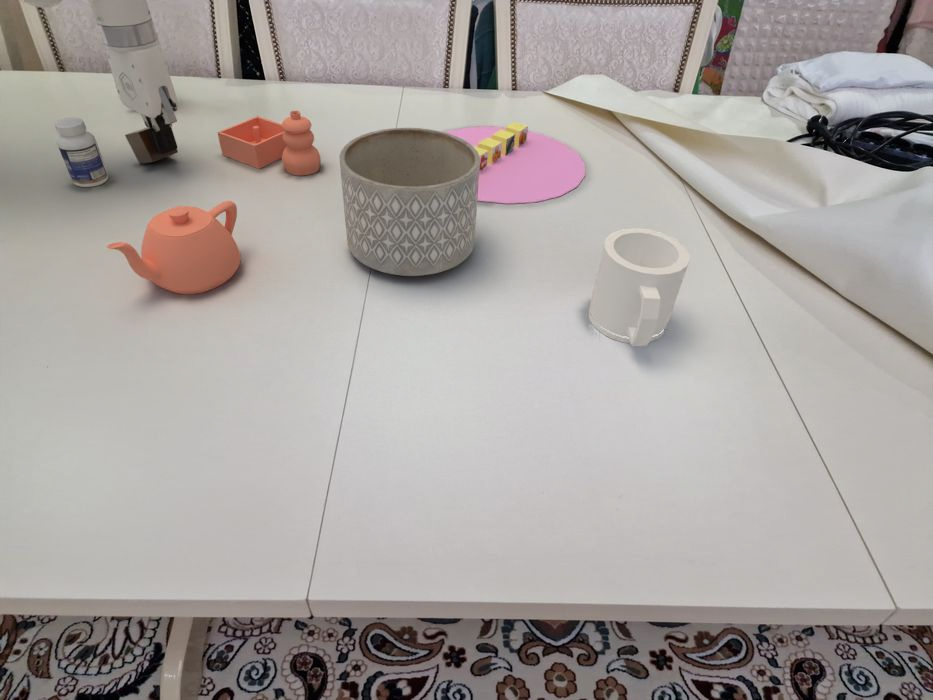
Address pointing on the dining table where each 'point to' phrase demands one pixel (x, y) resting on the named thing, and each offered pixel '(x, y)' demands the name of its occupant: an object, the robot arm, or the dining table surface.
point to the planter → (410, 200)
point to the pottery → (273, 143)
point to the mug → (637, 284)
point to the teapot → (187, 249)
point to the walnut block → (145, 147)
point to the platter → (521, 164)
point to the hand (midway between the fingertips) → (166, 150)
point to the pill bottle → (80, 153)
